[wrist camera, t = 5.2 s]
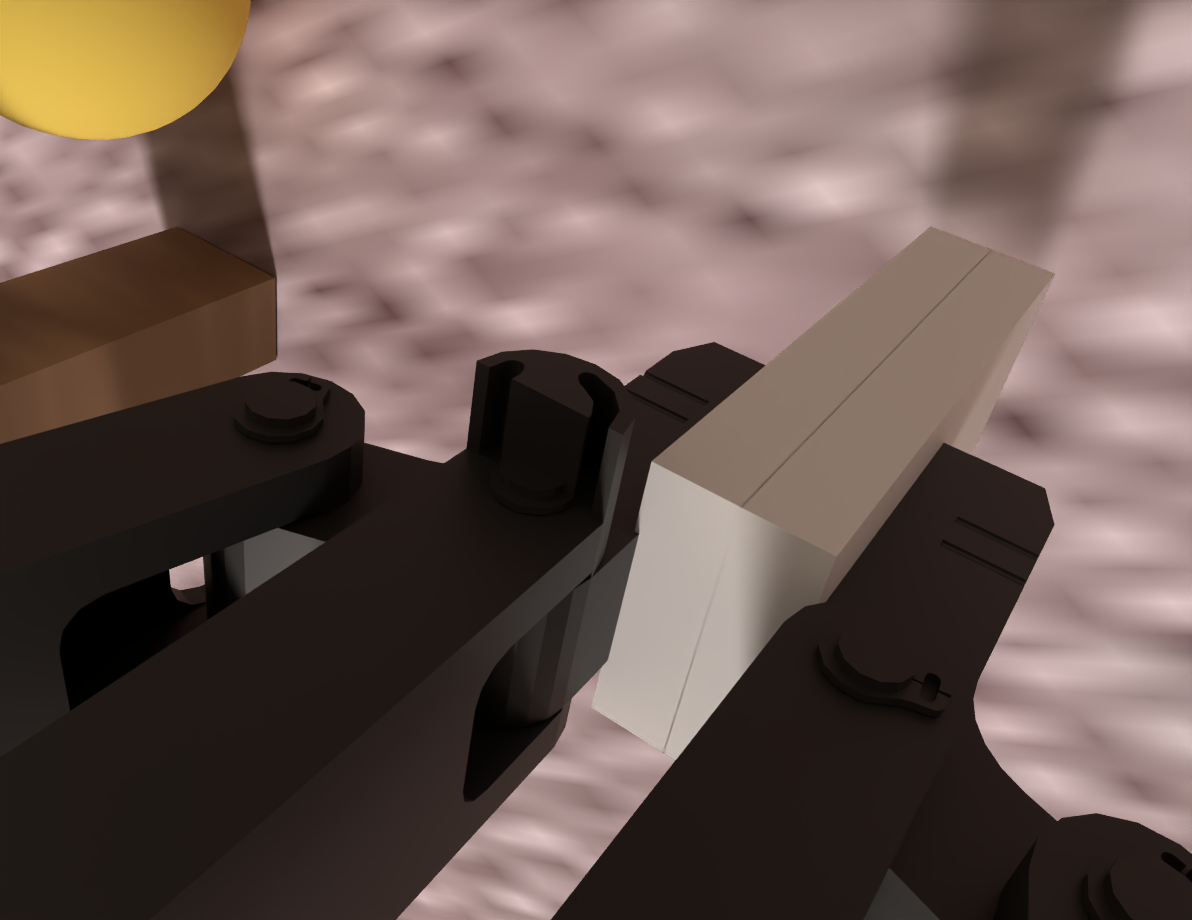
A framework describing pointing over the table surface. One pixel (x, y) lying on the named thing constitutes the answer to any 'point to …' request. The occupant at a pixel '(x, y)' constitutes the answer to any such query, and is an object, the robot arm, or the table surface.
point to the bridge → (128, 330)
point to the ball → (113, 62)
